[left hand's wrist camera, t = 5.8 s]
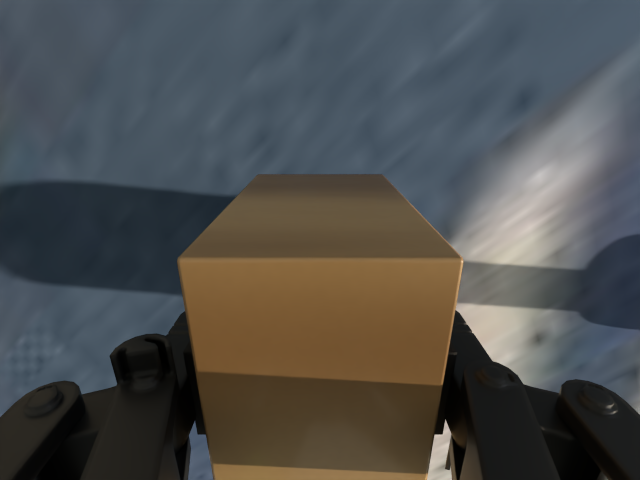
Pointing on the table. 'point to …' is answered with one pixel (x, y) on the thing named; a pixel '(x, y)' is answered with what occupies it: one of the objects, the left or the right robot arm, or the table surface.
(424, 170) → the table surface
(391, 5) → the table surface
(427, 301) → the bar
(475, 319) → the table surface
